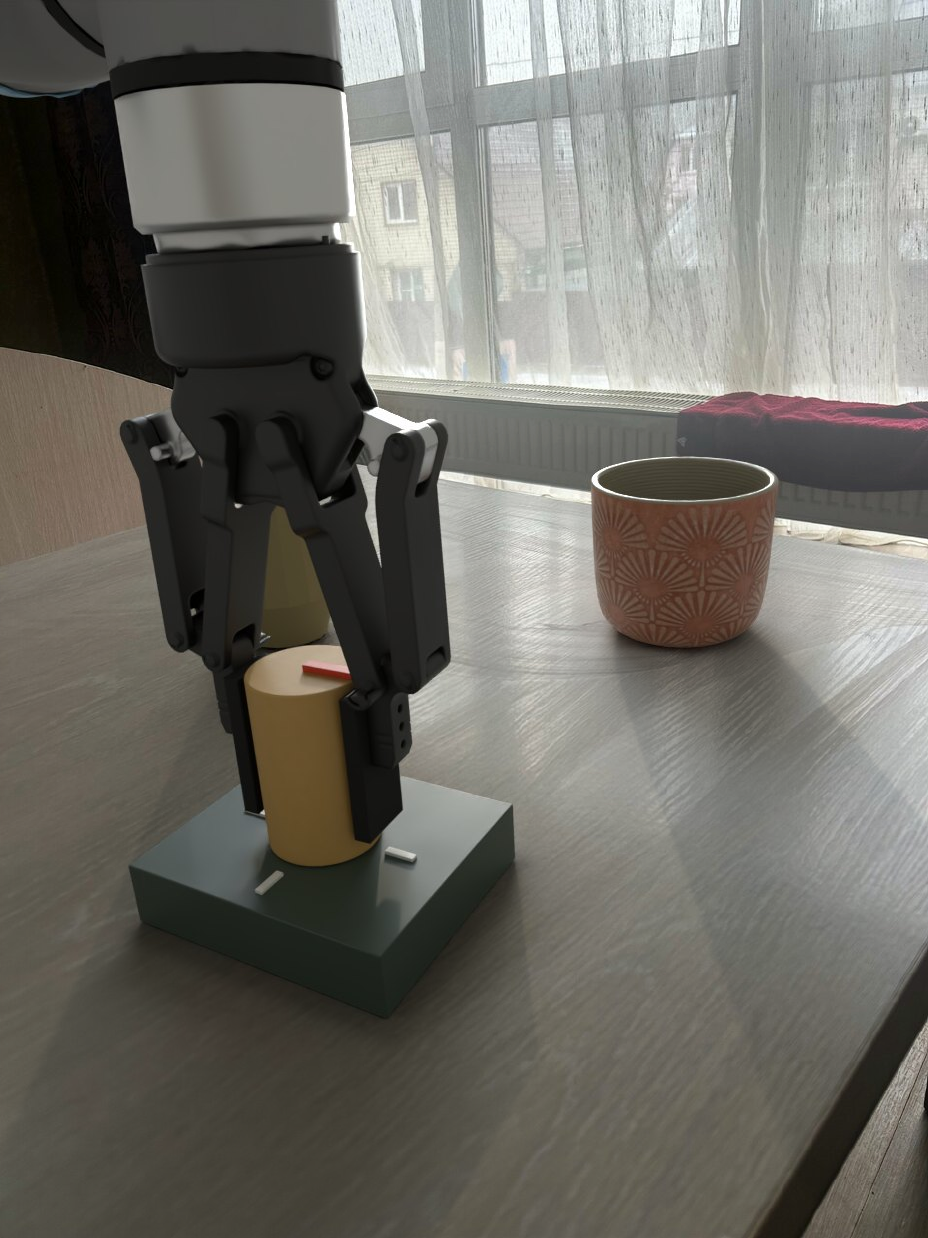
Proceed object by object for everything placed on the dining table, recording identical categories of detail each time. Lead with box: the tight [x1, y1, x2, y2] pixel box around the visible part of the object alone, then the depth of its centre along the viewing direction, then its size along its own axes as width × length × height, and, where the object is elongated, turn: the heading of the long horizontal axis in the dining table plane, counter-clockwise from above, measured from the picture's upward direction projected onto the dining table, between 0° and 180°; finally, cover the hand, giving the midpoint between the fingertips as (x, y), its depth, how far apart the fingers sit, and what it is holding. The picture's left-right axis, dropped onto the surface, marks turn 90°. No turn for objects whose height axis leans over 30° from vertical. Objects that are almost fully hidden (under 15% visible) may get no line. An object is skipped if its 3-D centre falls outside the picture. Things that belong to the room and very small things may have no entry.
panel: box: [127, 775, 516, 1019], centre depth 43 cm, size 13×11×3 cm
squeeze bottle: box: [260, 501, 331, 649], centre depth 69 cm, size 8×8×18 cm
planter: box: [590, 456, 779, 649], centre depth 67 cm, size 12×12×11 cm
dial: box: [244, 644, 381, 866], centre depth 41 cm, size 5×5×8 cm
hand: (323, 809), depth 42 cm, fingers closed on dial, 5 cm apart
